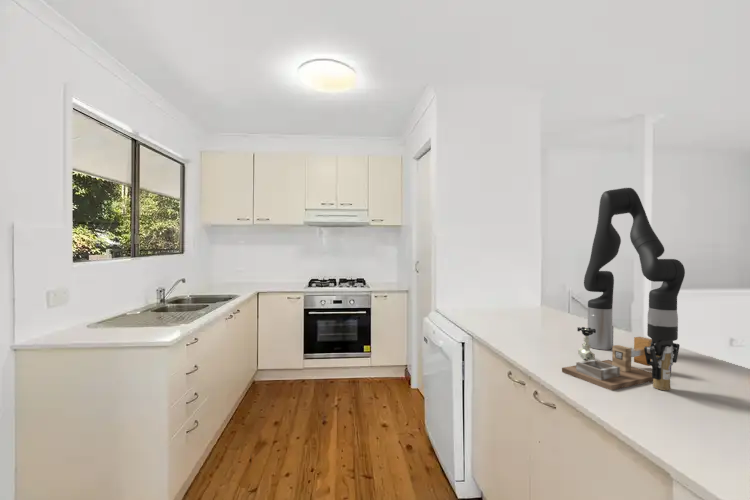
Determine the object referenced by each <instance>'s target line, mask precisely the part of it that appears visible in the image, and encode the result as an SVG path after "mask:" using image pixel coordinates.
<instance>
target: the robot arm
mask: <svg viewBox="0 0 750 500" xmlns="http://www.w3.org/2000/svg"><path fill="white" fill-rule="evenodd" d="M624 214H630V215H631V217H632V219H633V220H632V225H631V228H630V232H629V233H630V234H629V239H630V242H631V244H632V245H633V248H634V249H635V251H636V252H637V255H638V257H639V262H640V267H641V273H642V275H643V277H645V278H646V279H647V280H648V281H650V282H655V283H656V282H658V283H659V282H662V283H661V285H660V287H657V288H655V289H651V290H650V291H649V292H648V293H649V294H648V311H647V328H646V329H647V333H646V335H647V336H648V337H647V338H649V339H652V341H651V346H649V347H646V346H645V347H644V351H645V356H646V362H647V364H648V365H651V366H650V367H651V372H652V377H653V378H654V379H657V380H660V379H661V365H662V361H664V359H665V354H666V353H665V352H666V351H667V348H668V347H667V346H669V347H671V354H670V355H671V357H670V360H671V361H670V364H671V367H672V366H673V365H674V363H675V364H676V363H677V361H678V356H679V349H680V343H677V342H674V341H678V337H679V334H678V331H679V315H678V296H679V293H680V290H681V287H682V285H683V282H684V279H685V274H686V271H685V270H686V269H685V266H684V265H683V262H681V260H678V259H675V258H660V257H661V256H663V254H664V253H665V246H664V245H663V243H662V242H661V240H660V239H659V238H658V236H657V235H656V233H655V231H654V229H653V228H652V226H651V224H650V221H649V219H648V216H647V213H646V211H645V208H644V206H643V203H642V201H641V199H640V197H639V194H638V192H637V191H636V190H635V189H634V188H632V187H621V188H616V189H615V188H614V189H610V190H606V191H604V192H602V194H601V196H600V200H599V207H598V217H597V225H596V229H595V234H594V237H593V241H592V248H591V253H590V258H589V262H588V265H587V268H586V271H585V275H584V279H583V286H584V289H585V290H586V291H588V292H592V293H602V294H601V295H600V296H598V297H595V298H591V299H590V300H588V301H587V328H591V329H596V333H593V334H592V335H589V336H588V338H589V342H588V343H589V345H591V348H590V349H595V350H596V349H597V350H605V351H606V350H607V351H608V350H612V349H613V346H614V325H613V303H614V301H613V300H614V289H615V286H614V285H615V277H614V274H613V272H612V271H610V270H609V271H608V270H601V269H602V268H603V267H604V266H606V265H608V264H609V263H610V262H611V261H613V260H614V259H615V258H616V257H617V255H618V253H619V251H620V250H619V249H620V246H621V243H622V239H621V236H620V233H619V232H618V230H617V229H616V228H615V227H614V225H613V222H612V221H613V217H614V216H616V215H624ZM656 355H658V356H661V357H656ZM650 359H651V361H650ZM657 359H658V363H657Z"/></svg>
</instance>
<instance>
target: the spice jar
mask: <svg viewBox="0 0 750 500" xmlns="http://www.w3.org/2000/svg"><path fill="white" fill-rule="evenodd" d="M667 347H668V348H667V351H666V352H665V353H666V354H665V359H664V361H662V365H661V379H660V380H657V379H654V378H653V381H652V387H653V388H655V389H657V390H661V391H670V390H672V387H671V377H672V366H671V364H670V361H671V360H670V357H671V355H670V354H671V347H669V346H667ZM656 357H661V356H658V355H656ZM657 363H658V359H657Z"/></svg>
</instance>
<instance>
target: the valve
mask: <svg viewBox="0 0 750 500" xmlns="http://www.w3.org/2000/svg"><path fill="white" fill-rule="evenodd" d="M576 329H577V332H581V334H582V335H583V336H584V337H583V343H581V347H580V348H578V349H577V352H578V353H577V354H578V355H579V356H580V357H581V358H582V359H583V360H584V361H588V360H594V359H595V358H596V357H595V356H596V355H595V353H593V352H592V350H590V349H592V348H591V345H589V343H588V342H589V338H588V336H589V335H592V334H593V333H596V329H591V328H588V327H584V326H582V327H577V328H576ZM595 360H596V359H595Z"/></svg>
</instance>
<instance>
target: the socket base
mask: <svg viewBox="0 0 750 500" xmlns="http://www.w3.org/2000/svg"><path fill="white" fill-rule="evenodd" d="M631 349H632V348H631V347H627V346H625V345H620V344H616V345H613V348H612V349H611V350H612V351H611V352H612V353H611V354H612V359H611V360H610V359H607V360H606V359H605V360H598V359H594V360H583V361H578V362H575V364H576V365H572V366H571V365H569V366H565V367H561V373H564V374H567V375H569V376H571V377H574V378H577V379H580V380H582V381H585V382H588V383H590V384H593V385H596V386H598V387H602V388H604V389H607V390H609V391H615V390H619V389H624V388H628V387H633V386H637V385H642V384H646V383H651V382H652V383H653V377H652V371H649V370H644V369H642V368H638V367H634V366H632V357H631ZM617 351H619V352H622V353H623V359H620V358H616V352H617Z"/></svg>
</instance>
